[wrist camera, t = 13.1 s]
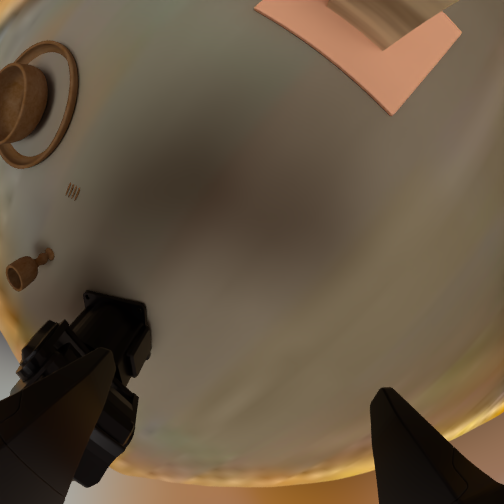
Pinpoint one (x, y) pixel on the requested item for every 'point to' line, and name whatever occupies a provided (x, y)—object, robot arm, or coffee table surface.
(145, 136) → the coffee table surface
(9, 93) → the place setting
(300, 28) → the terracotta mat
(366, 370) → the coffee table surface
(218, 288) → the coffee table surface
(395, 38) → the birch block
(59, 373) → the robot arm
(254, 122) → the coffee table surface
